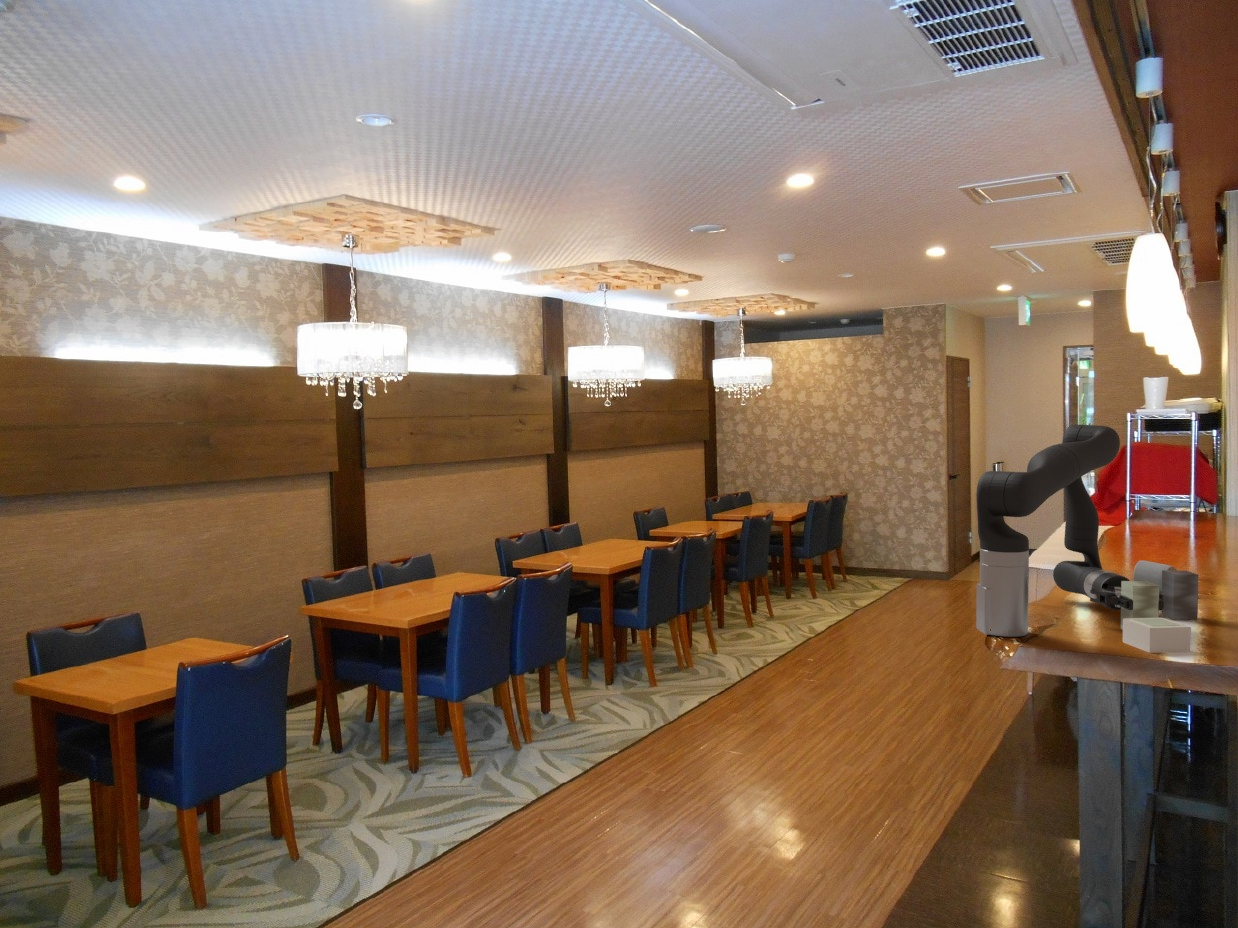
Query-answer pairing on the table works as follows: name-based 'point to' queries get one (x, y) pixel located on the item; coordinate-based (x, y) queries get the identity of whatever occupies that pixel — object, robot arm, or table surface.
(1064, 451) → the robot arm
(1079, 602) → the table surface
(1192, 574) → the slate pillar
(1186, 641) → the cream base block
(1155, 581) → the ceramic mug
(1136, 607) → the sage pillar
